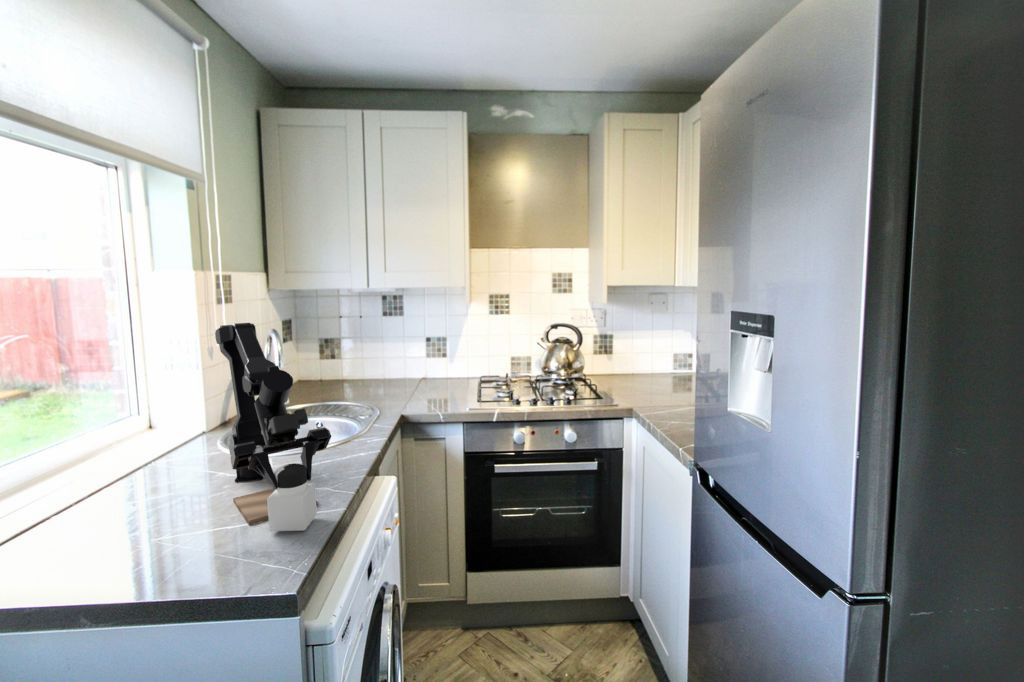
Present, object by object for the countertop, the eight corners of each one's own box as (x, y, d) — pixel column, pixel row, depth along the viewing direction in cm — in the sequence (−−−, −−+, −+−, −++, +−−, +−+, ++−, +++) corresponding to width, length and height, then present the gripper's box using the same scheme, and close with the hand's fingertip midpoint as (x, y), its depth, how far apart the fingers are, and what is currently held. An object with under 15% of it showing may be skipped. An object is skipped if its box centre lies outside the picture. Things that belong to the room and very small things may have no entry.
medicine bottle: (317, 514, 110) (314, 460, 108) (305, 531, 103) (301, 473, 101) (283, 514, 110) (279, 460, 108) (268, 532, 103) (264, 474, 101)
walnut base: (233, 502, 118) (233, 498, 118) (297, 485, 126) (297, 481, 126) (249, 525, 107) (248, 520, 107) (317, 505, 116) (317, 501, 116)
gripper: (229, 405, 100) (247, 478, 93) (325, 390, 112) (348, 454, 105) (223, 434, 107) (240, 504, 100) (315, 417, 119) (335, 479, 112)
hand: (293, 484), depth 104 cm, fingers closed on medicine bottle, 6 cm apart
